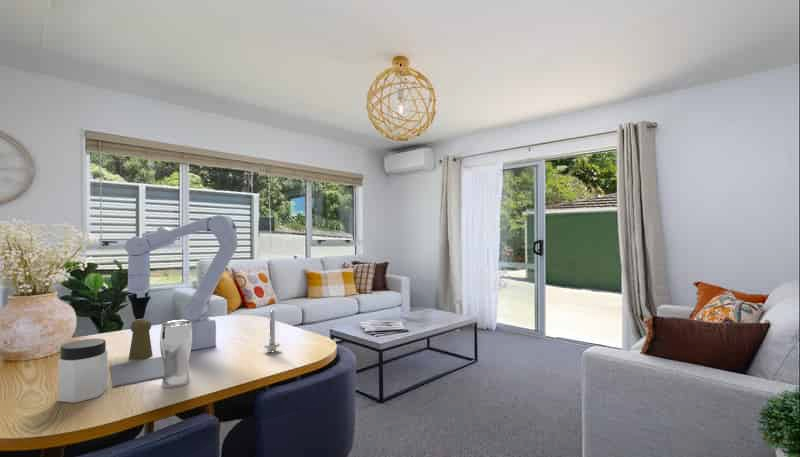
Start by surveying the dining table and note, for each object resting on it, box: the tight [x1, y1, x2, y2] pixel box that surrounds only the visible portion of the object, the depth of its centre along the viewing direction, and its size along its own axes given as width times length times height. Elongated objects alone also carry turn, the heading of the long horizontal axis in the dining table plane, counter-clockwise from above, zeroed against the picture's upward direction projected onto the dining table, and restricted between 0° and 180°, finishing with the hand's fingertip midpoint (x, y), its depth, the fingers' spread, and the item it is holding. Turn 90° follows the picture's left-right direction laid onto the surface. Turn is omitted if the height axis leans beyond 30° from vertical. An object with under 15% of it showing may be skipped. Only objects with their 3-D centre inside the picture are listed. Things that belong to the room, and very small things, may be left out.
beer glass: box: [159, 319, 192, 389], centre depth 96 cm, size 7×7×15 cm
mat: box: [109, 356, 164, 388], centre depth 105 cm, size 15×18×1 cm
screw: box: [263, 310, 281, 353], centre depth 122 cm, size 13×5×5 cm
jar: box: [57, 338, 108, 404], centre depth 89 cm, size 9×8×12 cm
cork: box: [128, 319, 154, 361], centre depth 116 cm, size 6×6×11 cm
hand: (138, 317), depth 122 cm, fingers open, 4 cm apart
